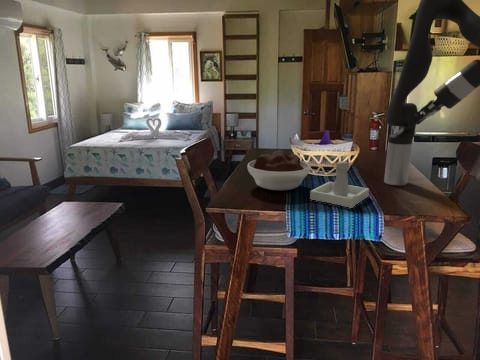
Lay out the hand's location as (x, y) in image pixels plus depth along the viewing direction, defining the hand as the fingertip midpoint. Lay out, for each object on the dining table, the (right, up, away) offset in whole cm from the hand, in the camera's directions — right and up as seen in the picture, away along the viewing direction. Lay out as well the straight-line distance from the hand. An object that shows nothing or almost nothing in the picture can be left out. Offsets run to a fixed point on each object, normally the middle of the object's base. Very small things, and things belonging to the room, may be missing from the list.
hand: (411, 123), depth 135 cm
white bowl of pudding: (-42, -22, +28) cm, 55 cm away
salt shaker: (-21, -25, +14) cm, 35 cm away
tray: (-21, -26, +14) cm, 36 cm away
